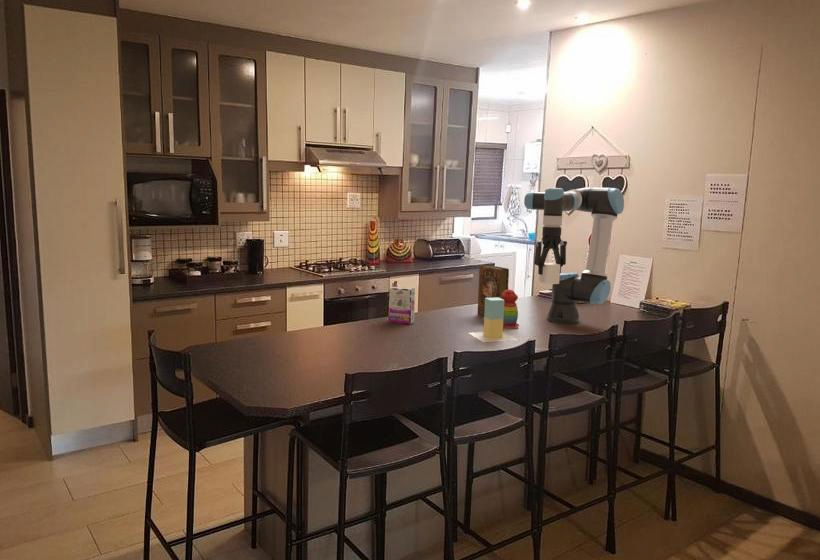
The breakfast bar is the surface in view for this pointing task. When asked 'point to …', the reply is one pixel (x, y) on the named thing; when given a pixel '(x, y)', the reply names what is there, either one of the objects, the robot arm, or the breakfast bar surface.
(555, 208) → the robot arm
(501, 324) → the brick base
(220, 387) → the breakfast bar surface
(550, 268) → the brick
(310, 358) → the breakfast bar surface
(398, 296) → the candy bar box
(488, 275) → the book
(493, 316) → the brick
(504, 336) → the build plate
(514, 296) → the stacking bear
